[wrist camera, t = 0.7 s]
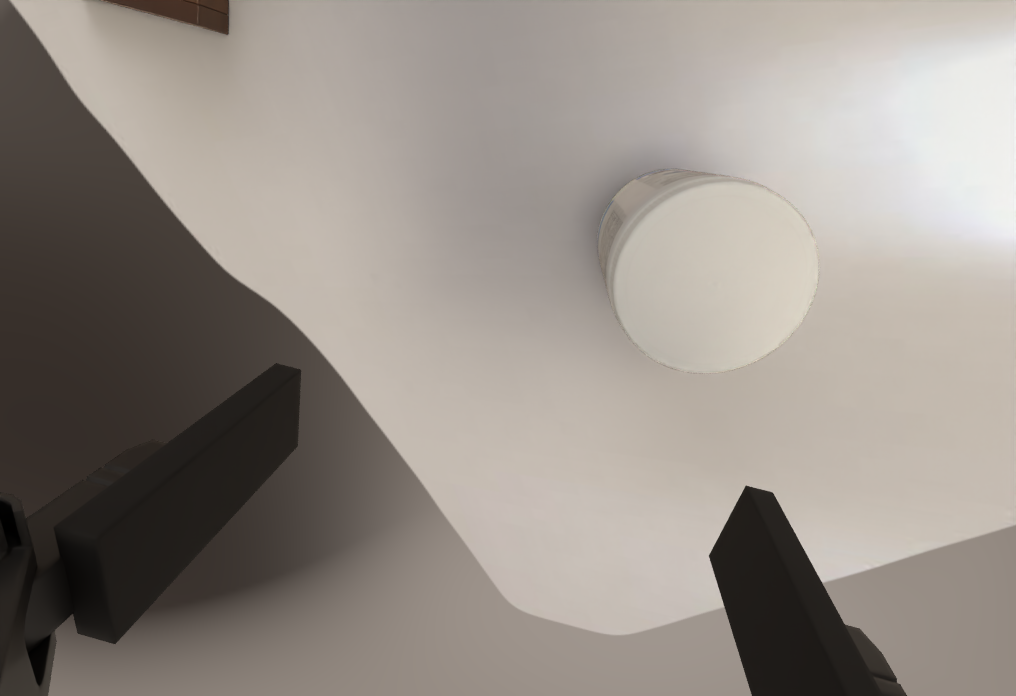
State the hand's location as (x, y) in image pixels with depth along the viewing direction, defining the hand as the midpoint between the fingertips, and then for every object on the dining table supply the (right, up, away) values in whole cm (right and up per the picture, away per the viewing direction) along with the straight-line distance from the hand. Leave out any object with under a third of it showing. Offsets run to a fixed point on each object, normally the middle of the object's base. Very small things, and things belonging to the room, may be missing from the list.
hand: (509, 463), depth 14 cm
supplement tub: (+11, +12, +22) cm, 28 cm away
